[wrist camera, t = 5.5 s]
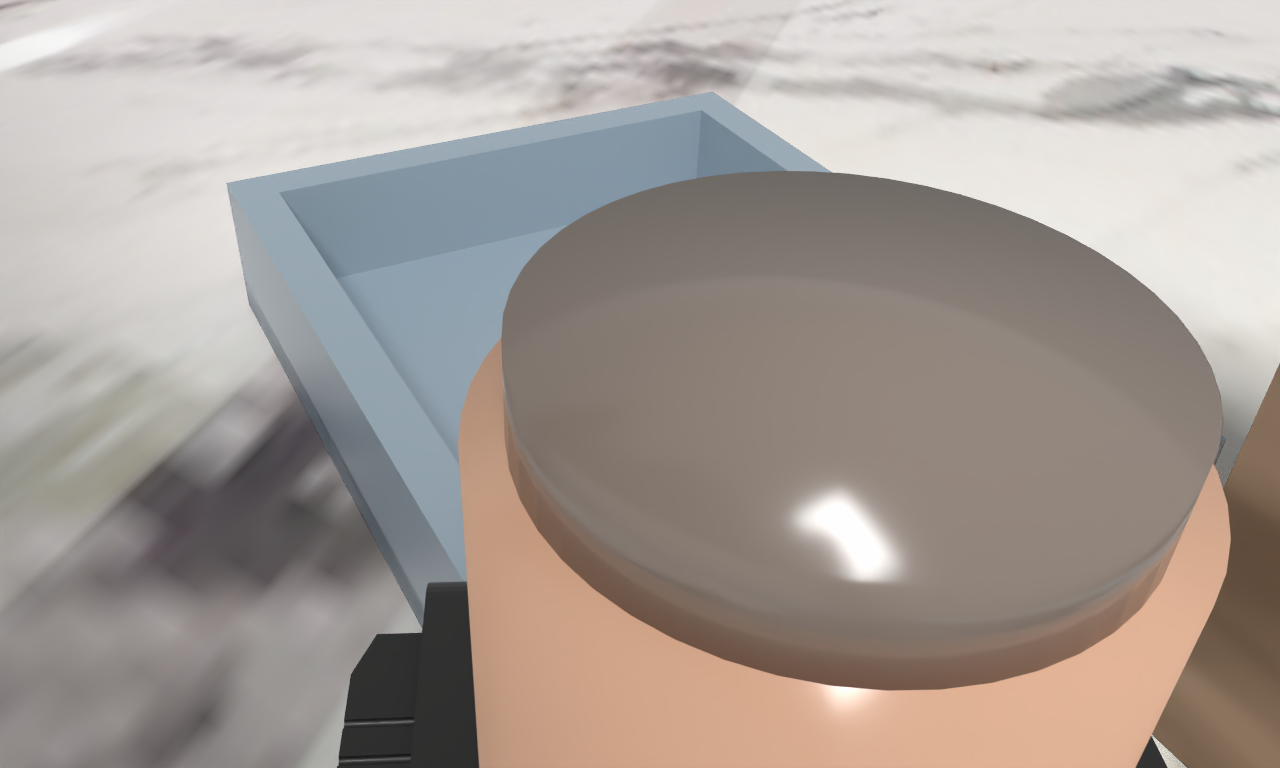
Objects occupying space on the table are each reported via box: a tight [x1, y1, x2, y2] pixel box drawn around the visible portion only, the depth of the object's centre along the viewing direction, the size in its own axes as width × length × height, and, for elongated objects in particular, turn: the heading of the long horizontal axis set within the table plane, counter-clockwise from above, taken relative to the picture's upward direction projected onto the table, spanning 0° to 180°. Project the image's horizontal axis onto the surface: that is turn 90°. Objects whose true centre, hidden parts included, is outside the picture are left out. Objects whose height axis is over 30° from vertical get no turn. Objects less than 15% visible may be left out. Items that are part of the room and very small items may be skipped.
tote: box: [227, 92, 1226, 628], centre depth 26 cm, size 14×18×4 cm
